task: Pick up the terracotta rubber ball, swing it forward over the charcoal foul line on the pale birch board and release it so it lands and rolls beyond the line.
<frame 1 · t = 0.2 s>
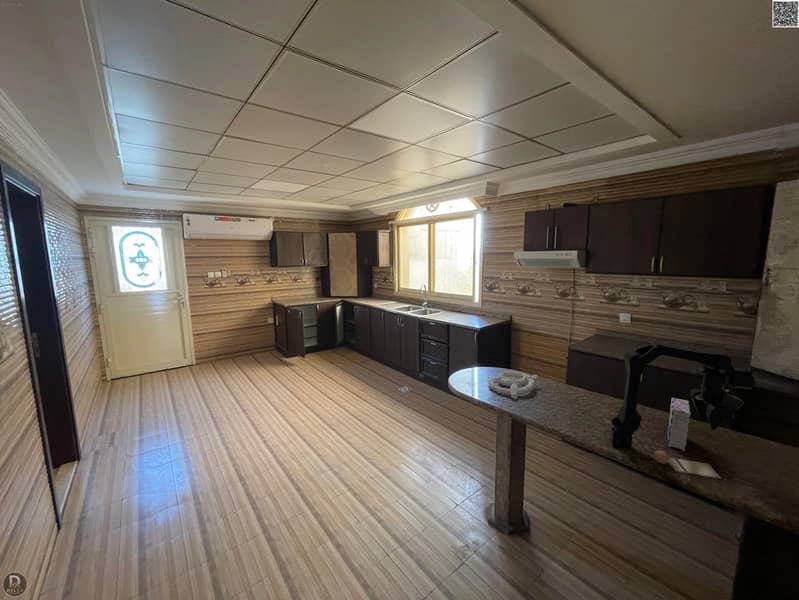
hand: (707, 423, 124), 14 cm above the counter, fingers open, 9 cm apart
ball: (660, 462, 123), on the counter
candy box: (676, 441, 137), on the counter
pretzel: (512, 388, 190), on the counter
board: (692, 468, 120), on the counter
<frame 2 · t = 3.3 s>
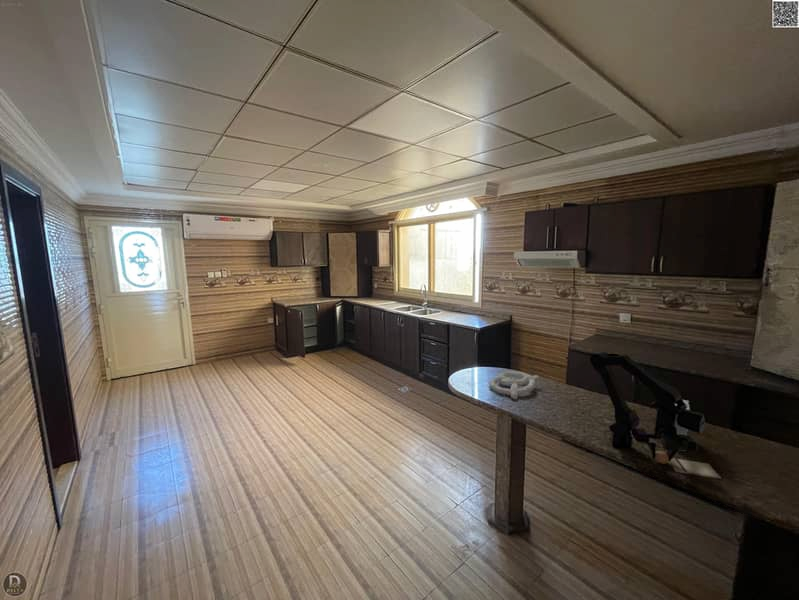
hand: (660, 459, 123), 1 cm above the counter, fingers closed on ball, 4 cm apart
ball: (660, 462, 123), on the counter, touching gripper
everything else where it was.
when the fingers open (4 cm above the counter, at t = 6.0 s): ball drops 2 cm, resting on board.
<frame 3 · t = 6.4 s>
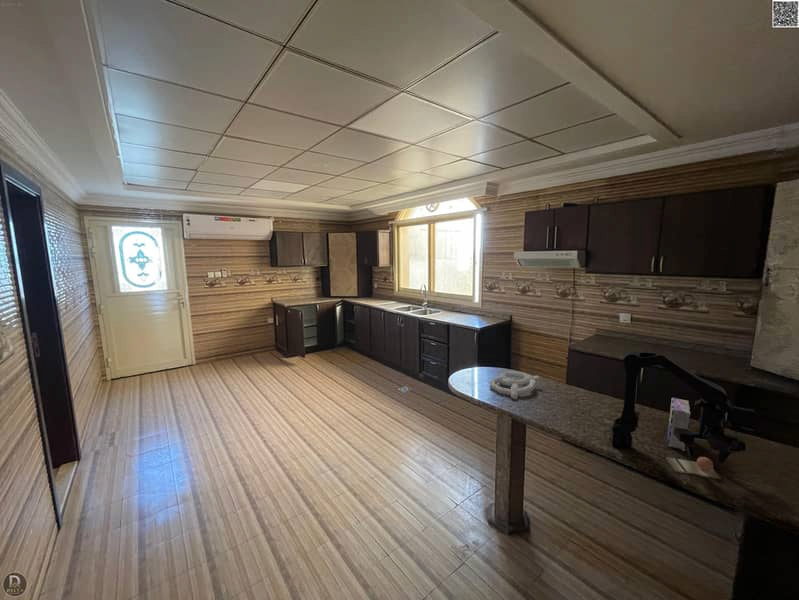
hand: (705, 460, 118), 4 cm above the counter, fingers open, 8 cm apart
ball: (704, 469, 119), point 1 cm above the counter, touching board
everything else where it was.
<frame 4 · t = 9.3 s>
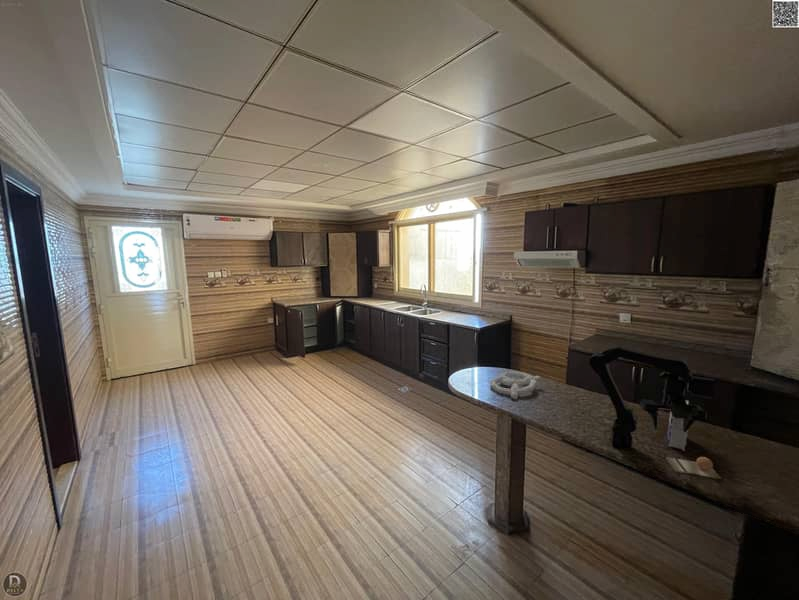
hand: (669, 429, 124), 12 cm above the counter, fingers open, 9 cm apart
nothing on the counter moved.
at the end: ball inside the target area on the board (2.8 cm from its centre), point 0.6 cm above the board's base; the gripper is holding nothing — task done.
